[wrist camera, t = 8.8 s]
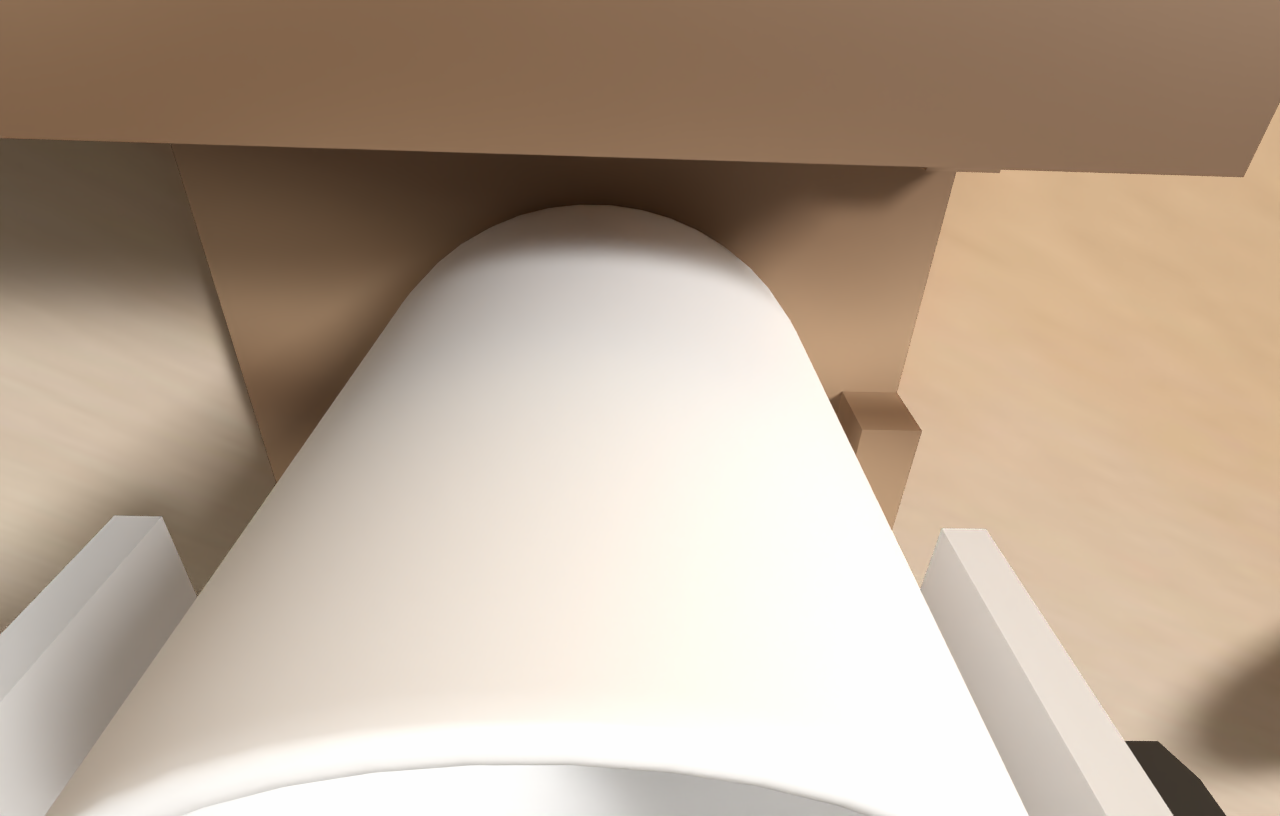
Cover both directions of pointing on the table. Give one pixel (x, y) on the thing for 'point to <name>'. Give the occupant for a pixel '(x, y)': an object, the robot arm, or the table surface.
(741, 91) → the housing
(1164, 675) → the table surface
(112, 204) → the table surface
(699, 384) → the mug
